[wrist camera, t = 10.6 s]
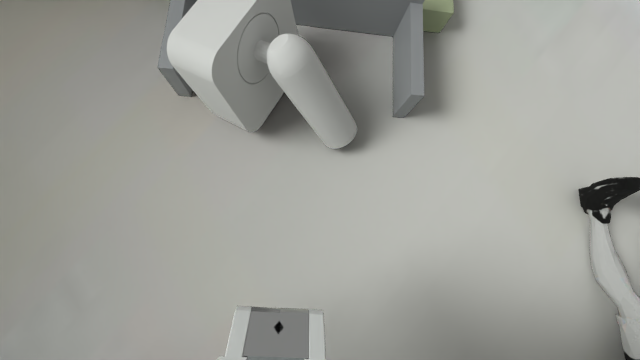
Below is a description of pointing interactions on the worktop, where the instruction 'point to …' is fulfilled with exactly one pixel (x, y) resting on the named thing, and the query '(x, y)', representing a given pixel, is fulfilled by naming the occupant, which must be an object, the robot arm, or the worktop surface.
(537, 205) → the worktop surface
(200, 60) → the wall hook
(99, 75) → the worktop surface
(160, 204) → the worktop surface
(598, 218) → the figurine
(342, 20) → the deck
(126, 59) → the worktop surface
